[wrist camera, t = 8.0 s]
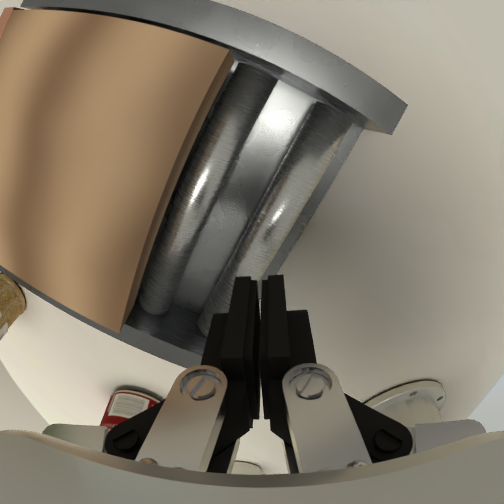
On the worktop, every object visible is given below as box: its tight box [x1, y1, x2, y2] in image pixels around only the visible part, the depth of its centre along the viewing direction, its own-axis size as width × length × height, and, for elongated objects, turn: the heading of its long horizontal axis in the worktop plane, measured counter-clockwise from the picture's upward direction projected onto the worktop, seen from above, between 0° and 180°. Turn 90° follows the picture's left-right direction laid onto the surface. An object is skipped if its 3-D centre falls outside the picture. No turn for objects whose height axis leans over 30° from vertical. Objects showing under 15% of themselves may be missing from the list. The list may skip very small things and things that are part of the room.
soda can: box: [100, 390, 160, 429], centre depth 20 cm, size 7×7×12 cm
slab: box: [0, 10, 235, 334], centre depth 11 cm, size 12×14×2 cm
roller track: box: [0, 0, 408, 369], centre depth 13 cm, size 20×18×5 cm
